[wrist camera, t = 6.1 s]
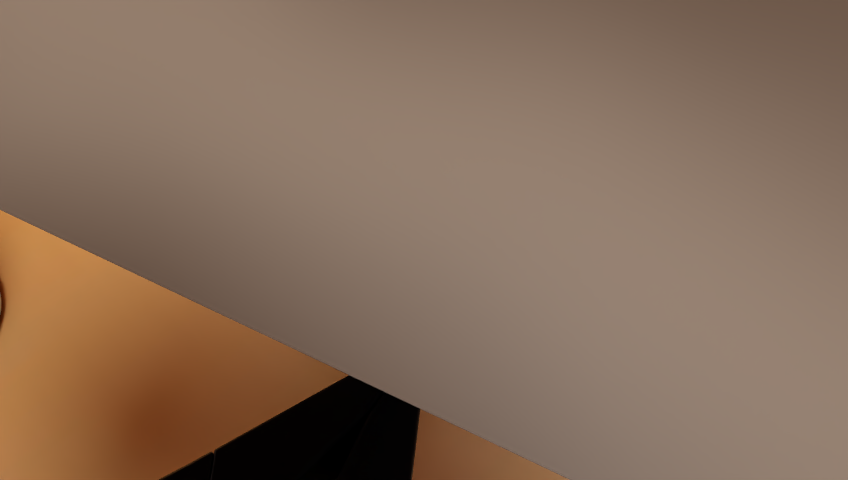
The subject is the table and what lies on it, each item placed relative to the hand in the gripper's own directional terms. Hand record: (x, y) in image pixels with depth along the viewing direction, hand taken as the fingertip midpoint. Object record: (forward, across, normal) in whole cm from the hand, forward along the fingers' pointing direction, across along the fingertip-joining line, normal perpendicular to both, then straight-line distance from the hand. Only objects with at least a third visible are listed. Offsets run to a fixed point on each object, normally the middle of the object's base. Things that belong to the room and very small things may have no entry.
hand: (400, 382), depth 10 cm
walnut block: (+9, 0, +2) cm, 9 cm away
